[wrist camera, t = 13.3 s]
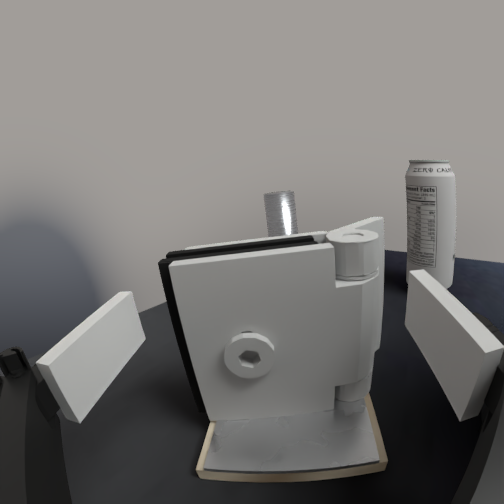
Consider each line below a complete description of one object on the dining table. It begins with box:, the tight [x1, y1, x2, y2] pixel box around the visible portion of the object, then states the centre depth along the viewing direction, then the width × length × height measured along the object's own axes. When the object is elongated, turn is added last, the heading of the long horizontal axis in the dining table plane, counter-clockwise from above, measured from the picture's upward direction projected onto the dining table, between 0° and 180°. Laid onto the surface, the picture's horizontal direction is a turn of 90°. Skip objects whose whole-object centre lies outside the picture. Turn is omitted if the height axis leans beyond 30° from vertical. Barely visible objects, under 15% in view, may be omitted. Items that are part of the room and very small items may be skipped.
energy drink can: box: [405, 160, 456, 290], centre depth 29 cm, size 6×6×15 cm
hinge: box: [158, 217, 384, 421], centre depth 16 cm, size 14×5×10 cm, turn 102°
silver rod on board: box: [204, 191, 380, 474], centre depth 18 cm, size 9×17×12 cm, turn 174°
